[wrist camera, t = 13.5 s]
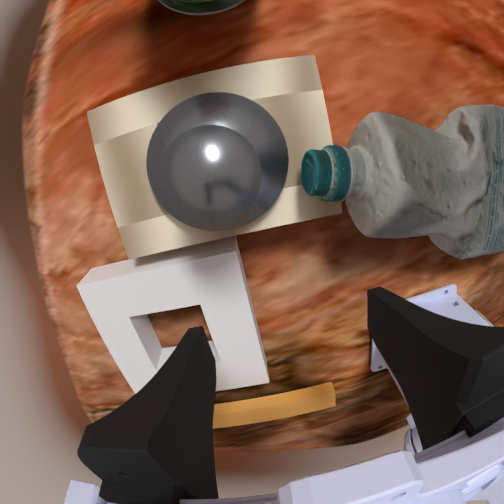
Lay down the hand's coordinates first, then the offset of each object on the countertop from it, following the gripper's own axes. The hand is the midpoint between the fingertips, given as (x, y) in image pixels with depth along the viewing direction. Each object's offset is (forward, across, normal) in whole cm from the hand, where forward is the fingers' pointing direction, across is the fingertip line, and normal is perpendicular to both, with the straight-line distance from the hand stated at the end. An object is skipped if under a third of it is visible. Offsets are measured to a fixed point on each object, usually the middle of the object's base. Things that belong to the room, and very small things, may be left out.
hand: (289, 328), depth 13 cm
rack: (+10, +2, -7) cm, 13 cm away
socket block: (+10, +8, +5) cm, 14 cm away
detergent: (+10, -15, -3) cm, 18 cm away
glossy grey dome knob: (+10, +2, -7) cm, 12 cm away
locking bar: (+6, +5, +13) cm, 15 cm away
